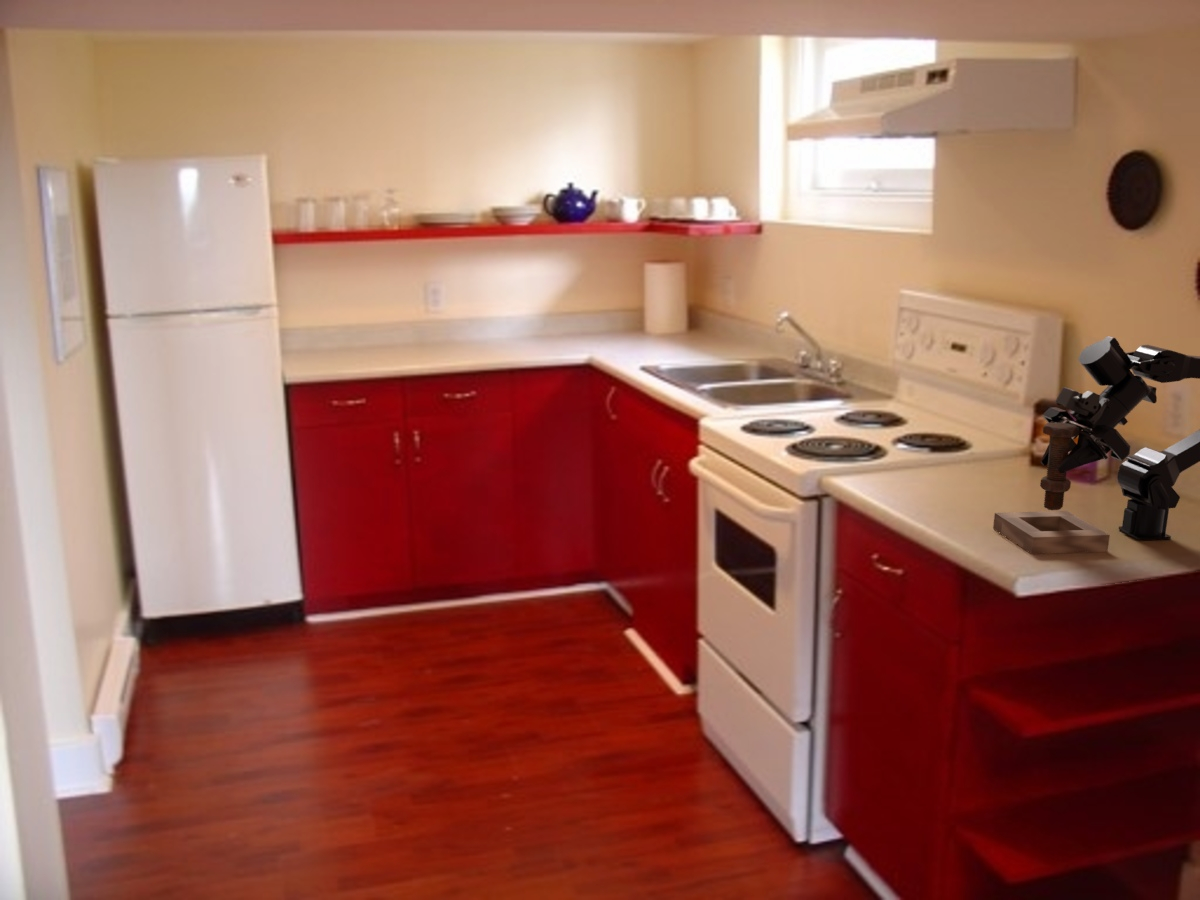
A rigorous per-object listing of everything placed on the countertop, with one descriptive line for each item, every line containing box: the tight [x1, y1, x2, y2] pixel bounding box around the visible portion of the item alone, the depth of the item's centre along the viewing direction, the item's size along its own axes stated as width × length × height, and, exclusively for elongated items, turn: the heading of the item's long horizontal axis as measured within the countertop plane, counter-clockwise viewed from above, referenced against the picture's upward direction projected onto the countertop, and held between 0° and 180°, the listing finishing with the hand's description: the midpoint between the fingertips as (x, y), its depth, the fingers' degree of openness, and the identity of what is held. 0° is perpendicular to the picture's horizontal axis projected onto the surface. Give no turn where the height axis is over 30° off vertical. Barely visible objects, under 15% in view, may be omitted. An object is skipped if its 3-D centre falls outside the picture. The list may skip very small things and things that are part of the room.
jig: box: [992, 510, 1111, 555], centre depth 204 cm, size 14×14×3 cm
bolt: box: [1039, 422, 1079, 511], centre depth 201 cm, size 6×5×15 cm
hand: (1050, 467), depth 201 cm, fingers closed on bolt, 5 cm apart
